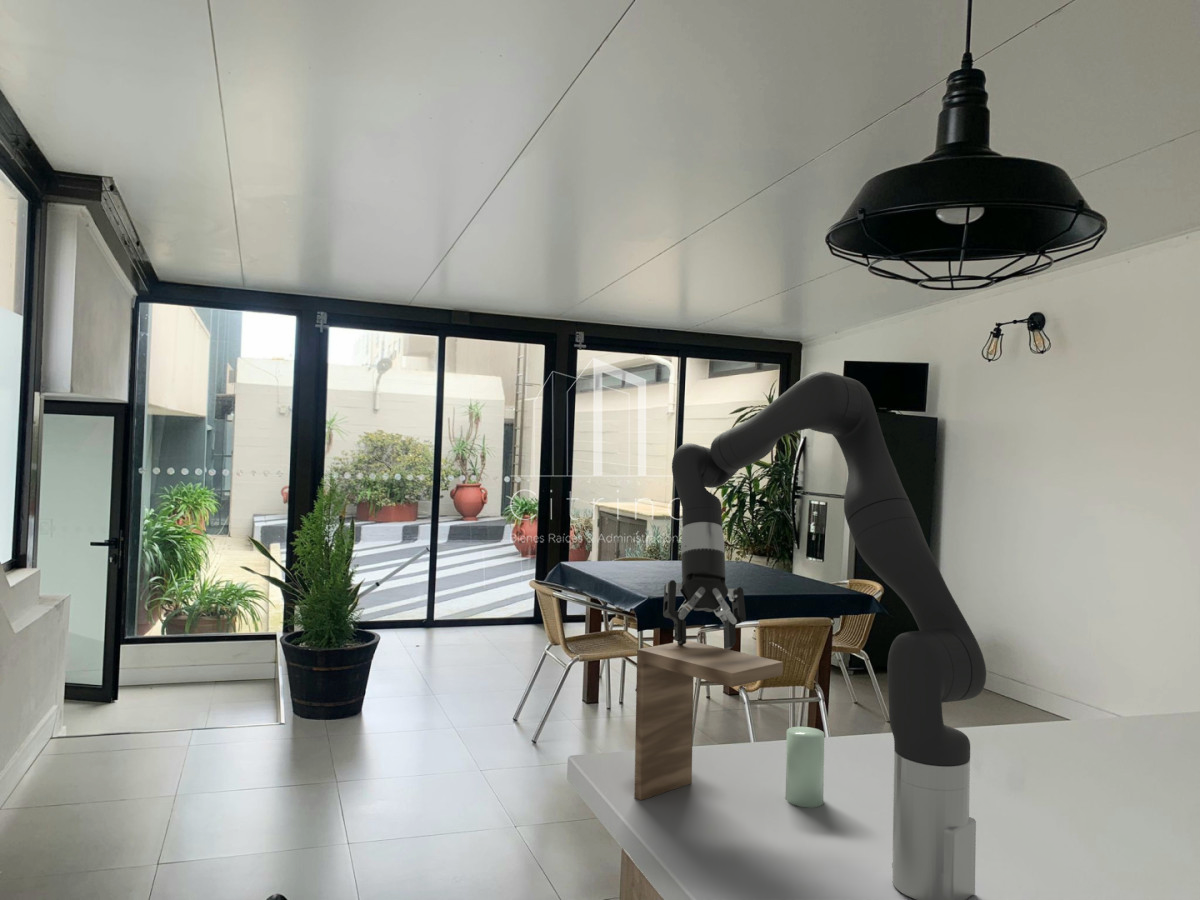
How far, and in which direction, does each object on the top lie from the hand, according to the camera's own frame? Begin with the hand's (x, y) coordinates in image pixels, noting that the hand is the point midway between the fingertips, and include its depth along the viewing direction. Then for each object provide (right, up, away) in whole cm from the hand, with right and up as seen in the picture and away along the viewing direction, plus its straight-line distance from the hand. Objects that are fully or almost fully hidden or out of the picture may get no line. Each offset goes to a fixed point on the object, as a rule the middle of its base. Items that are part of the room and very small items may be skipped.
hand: (705, 646), depth 147 cm
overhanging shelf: (-1, -24, -8) cm, 25 cm away
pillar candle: (+16, -24, -4) cm, 29 cm away
